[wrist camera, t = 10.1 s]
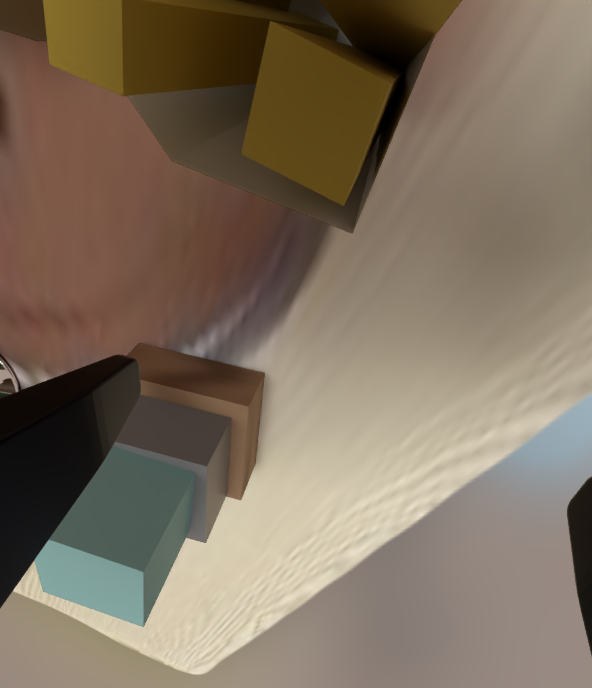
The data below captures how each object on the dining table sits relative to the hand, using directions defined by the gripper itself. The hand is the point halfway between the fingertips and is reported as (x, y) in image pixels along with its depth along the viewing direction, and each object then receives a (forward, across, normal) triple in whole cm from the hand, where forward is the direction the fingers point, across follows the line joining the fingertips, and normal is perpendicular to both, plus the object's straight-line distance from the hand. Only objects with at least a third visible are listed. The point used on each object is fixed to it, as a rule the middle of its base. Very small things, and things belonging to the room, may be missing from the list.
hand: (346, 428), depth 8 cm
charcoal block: (+10, +9, +14) cm, 19 cm away
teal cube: (+6, +9, +14) cm, 17 cm away
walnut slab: (+13, +8, +14) cm, 21 cm away
